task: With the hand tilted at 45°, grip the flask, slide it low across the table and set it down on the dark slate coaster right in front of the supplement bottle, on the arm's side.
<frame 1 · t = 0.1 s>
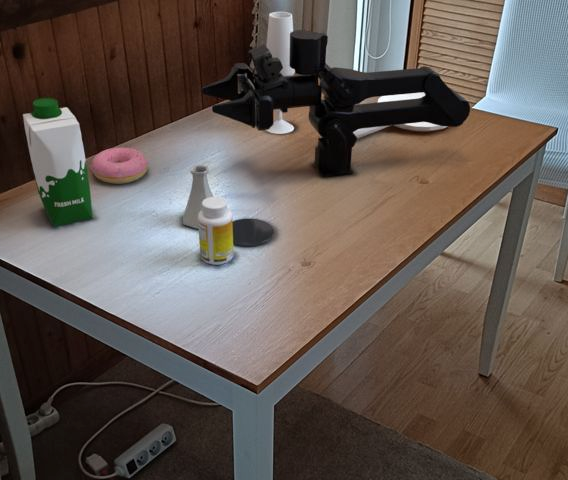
hand: (207, 99, 135), 17 cm above the table, tool horizontal, fingers open, 9 cm apart
flask: (202, 221, 134), on the table
champagne flute: (279, 128, 167), on the table
doughnut: (121, 175, 148), on the table
slate coaster: (248, 233, 131), on the table
frying pan: (392, 128, 169), on the table
supplement bottle: (217, 258, 125), on the table
milk carton: (68, 215, 135), on the table
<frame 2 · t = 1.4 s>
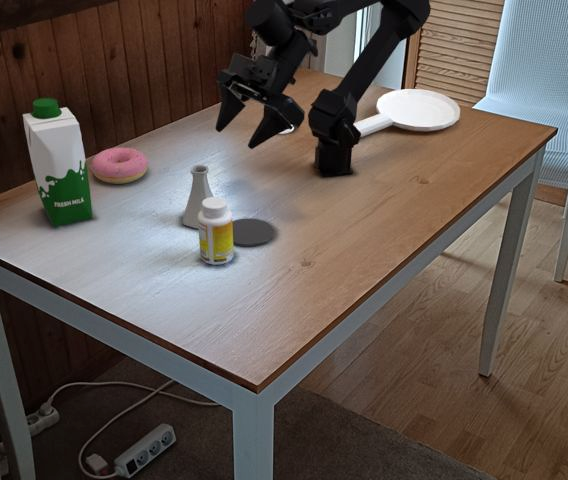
hand: (233, 139, 130), 13 cm above the table, tool tilted 45°, fingers open, 9 cm apart
nothing on the table moved.
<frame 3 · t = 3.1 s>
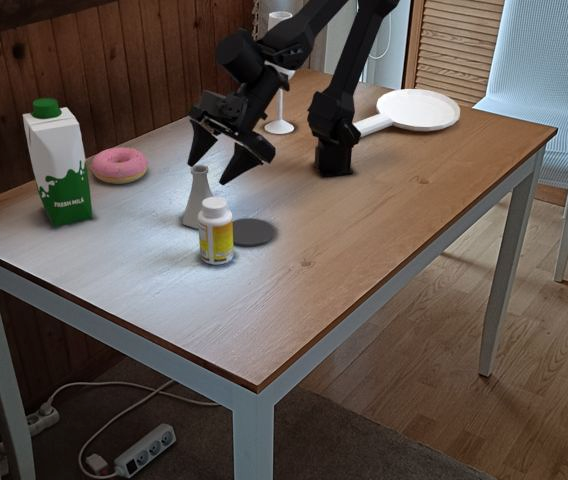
hand: (204, 174, 129), 9 cm above the table, tool tilted 45°, fingers open, 9 cm apart
nothing on the table moved.
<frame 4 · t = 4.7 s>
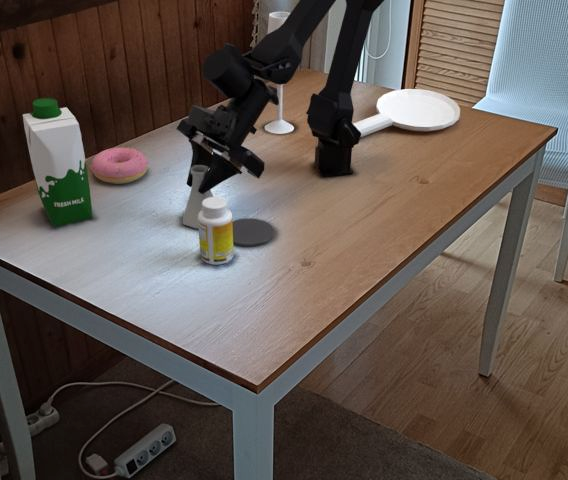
hand: (194, 189, 129), 7 cm above the table, tool tilted 45°, fingers closed on flask, 3 cm apart
flask: (202, 221, 134), on the table, touching gripper
everything else where it was.
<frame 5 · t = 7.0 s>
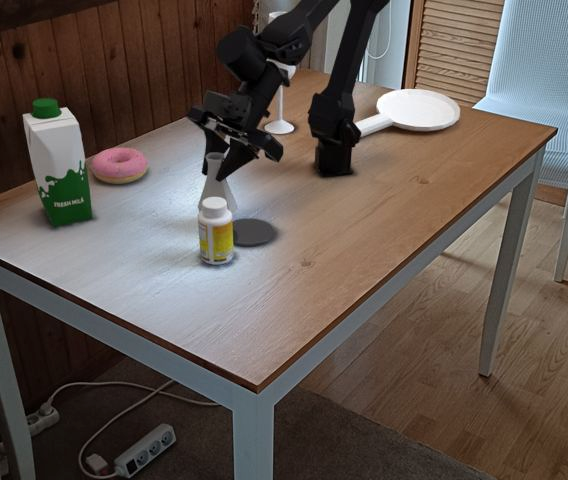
hand: (210, 177, 126), 10 cm above the table, tool tilted 45°, fingers closed on flask, 3 cm apart
flask: (218, 210, 131), point 3 cm above the table, touching gripper
everything else where it was.
when the fingers open (7 cm above the table, at t = 9.7 s): flask stays where it is, resting on slate coaster.
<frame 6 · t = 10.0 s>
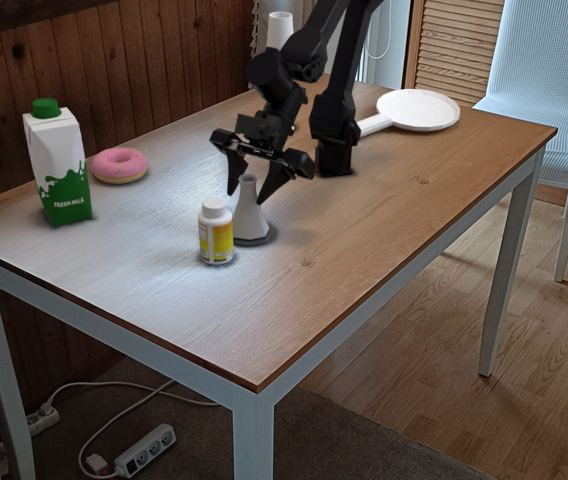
hand: (243, 199, 125), 7 cm above the table, tool tilted 45°, fingers open, 5 cm apart
flask: (248, 231, 131), resting on slate coaster
everything else where it was.
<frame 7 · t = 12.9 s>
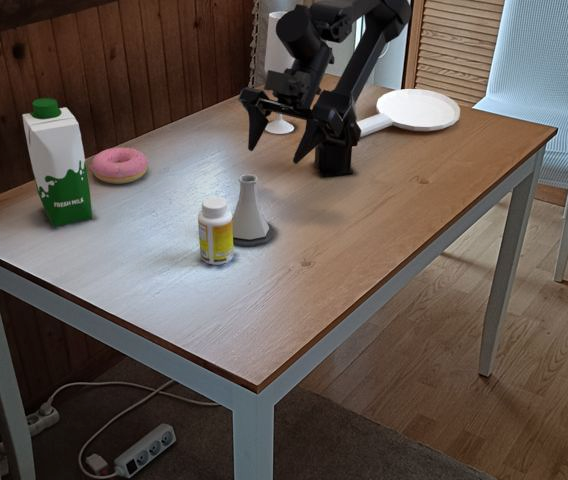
hand: (271, 156, 129), 12 cm above the table, tool tilted 45°, fingers open, 9 cm apart
nothing on the table moved.
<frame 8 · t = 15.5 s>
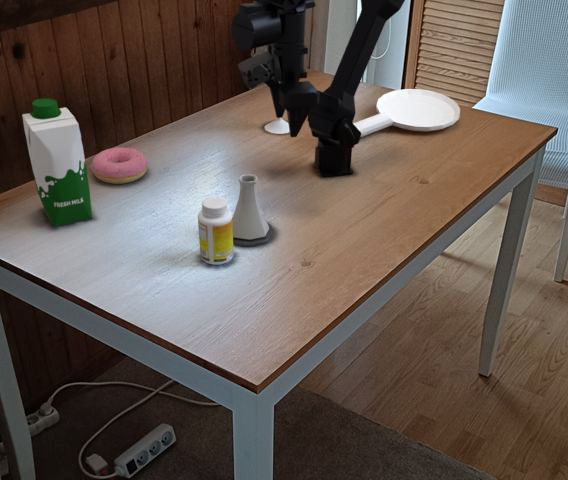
hand: (286, 126, 136), 12 cm above the table, tool pointing down, fingers open, 9 cm apart
nothing on the table moved.
at the end: flask inside the target area on the table beside the supplement bottle (0.2 cm from its centre), point 0.5 cm above the table; flask tilted 0°; supplement bottle moved 0.2 cm from its start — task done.
